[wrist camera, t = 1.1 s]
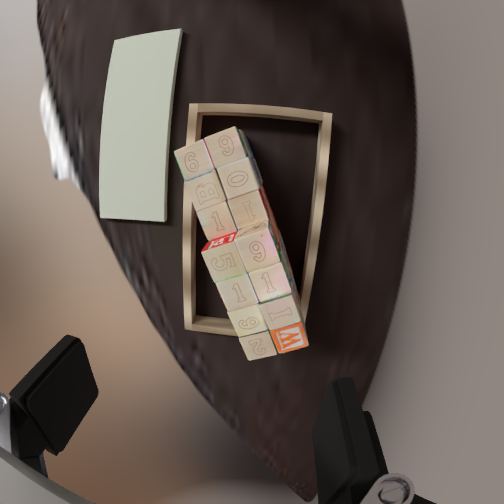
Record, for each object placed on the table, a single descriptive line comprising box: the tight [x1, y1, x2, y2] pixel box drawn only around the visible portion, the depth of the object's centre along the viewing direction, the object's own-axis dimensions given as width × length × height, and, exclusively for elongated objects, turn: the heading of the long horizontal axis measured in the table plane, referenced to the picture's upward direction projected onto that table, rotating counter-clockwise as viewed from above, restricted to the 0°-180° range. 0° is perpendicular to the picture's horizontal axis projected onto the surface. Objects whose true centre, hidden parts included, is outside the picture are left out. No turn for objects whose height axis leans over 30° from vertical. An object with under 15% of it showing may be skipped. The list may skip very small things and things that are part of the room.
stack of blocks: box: [174, 126, 309, 360], centre depth 29 cm, size 21×6×12 cm, turn 19°
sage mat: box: [99, 29, 183, 222], centre depth 31 cm, size 26×10×1 cm, turn 175°
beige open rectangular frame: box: [183, 104, 332, 336], centre depth 33 cm, size 29×16×2 cm, turn 175°
